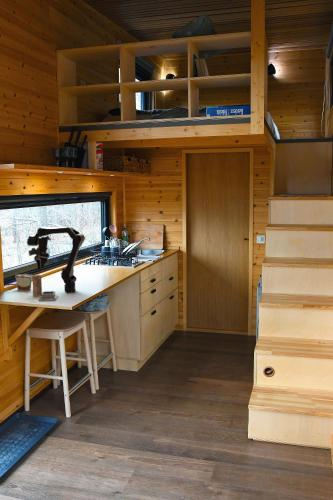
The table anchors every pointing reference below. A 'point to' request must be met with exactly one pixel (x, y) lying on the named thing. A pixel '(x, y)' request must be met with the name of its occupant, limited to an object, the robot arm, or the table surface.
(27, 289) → the food container
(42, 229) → the robot arm
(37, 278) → the walnut post
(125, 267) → the table surface
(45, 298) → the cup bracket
